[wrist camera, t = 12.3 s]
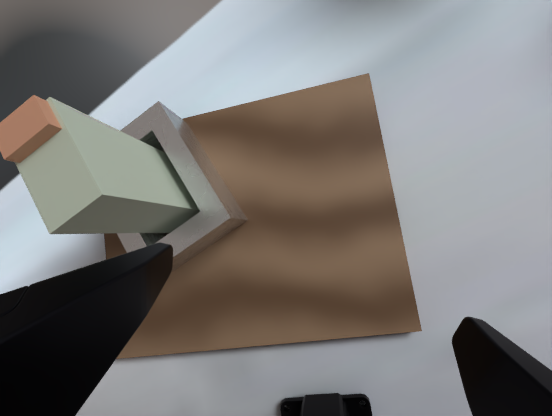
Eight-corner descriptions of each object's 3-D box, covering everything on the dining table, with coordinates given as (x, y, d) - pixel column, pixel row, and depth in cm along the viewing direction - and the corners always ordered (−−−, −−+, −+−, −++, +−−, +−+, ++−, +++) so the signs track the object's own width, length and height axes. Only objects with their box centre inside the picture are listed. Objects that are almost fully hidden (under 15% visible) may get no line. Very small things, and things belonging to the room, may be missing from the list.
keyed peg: (210, 211, 22) (90, 192, 11) (181, 232, 23) (35, 234, 11) (178, 159, 23) (35, 90, 12) (151, 179, 24) (-14, 131, 12)
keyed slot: (247, 220, 22) (230, 217, 18) (173, 270, 22) (140, 279, 19) (187, 122, 23) (158, 101, 19) (119, 173, 24) (79, 162, 20)
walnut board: (417, 326, 20) (421, 331, 19) (123, 353, 24) (114, 358, 23) (367, 80, 22) (368, 73, 21) (104, 143, 26) (96, 139, 25)
